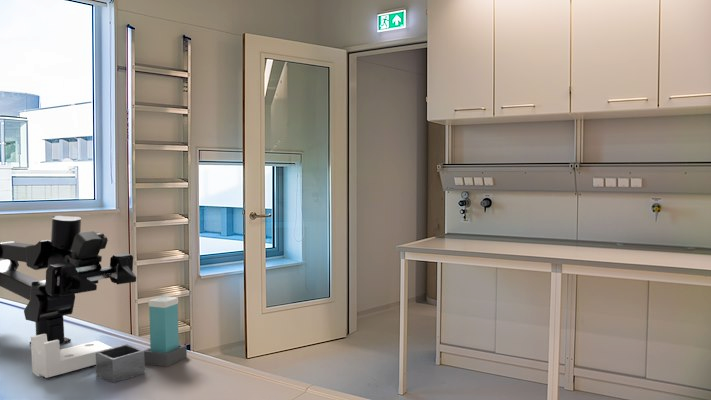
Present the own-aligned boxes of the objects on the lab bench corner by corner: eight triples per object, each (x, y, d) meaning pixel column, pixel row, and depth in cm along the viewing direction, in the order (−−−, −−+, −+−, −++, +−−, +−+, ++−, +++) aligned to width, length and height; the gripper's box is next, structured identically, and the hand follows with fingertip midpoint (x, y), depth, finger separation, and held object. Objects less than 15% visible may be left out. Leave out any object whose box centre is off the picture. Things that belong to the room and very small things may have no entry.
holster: (143, 362, 118) (142, 351, 117) (163, 353, 123) (163, 342, 123) (167, 366, 115) (166, 354, 115) (186, 356, 121) (186, 345, 121)
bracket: (46, 382, 108) (44, 343, 108) (32, 373, 113) (30, 336, 112) (113, 364, 118) (111, 328, 117) (97, 356, 122) (96, 322, 122)
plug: (150, 362, 118) (148, 300, 117) (163, 355, 122) (162, 296, 121) (166, 364, 117) (164, 302, 116) (179, 357, 120) (178, 297, 120)
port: (96, 375, 111) (95, 352, 111) (127, 365, 116) (126, 344, 116) (113, 383, 107) (112, 359, 106) (144, 373, 112) (144, 350, 111)
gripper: (30, 234, 116) (75, 251, 108) (112, 225, 132) (156, 240, 124) (28, 287, 117) (72, 307, 109) (109, 272, 133) (153, 289, 125)
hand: (116, 283), depth 117 cm, fingers open, 9 cm apart
